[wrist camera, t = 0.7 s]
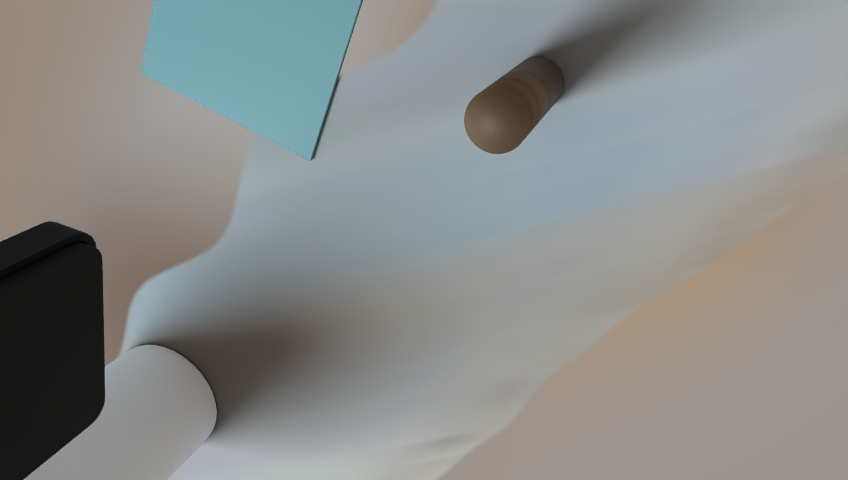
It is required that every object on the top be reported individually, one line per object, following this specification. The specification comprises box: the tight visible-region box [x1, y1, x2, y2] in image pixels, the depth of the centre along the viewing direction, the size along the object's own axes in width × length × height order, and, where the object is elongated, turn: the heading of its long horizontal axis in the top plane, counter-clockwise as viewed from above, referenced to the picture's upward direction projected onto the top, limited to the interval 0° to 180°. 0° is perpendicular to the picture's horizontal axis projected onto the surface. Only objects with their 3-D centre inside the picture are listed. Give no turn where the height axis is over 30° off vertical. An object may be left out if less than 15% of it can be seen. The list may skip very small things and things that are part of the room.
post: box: [464, 57, 564, 154], centre depth 30 cm, size 2×2×8 cm
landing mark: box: [141, 0, 363, 161], centre depth 37 cm, size 11×11×1 cm
